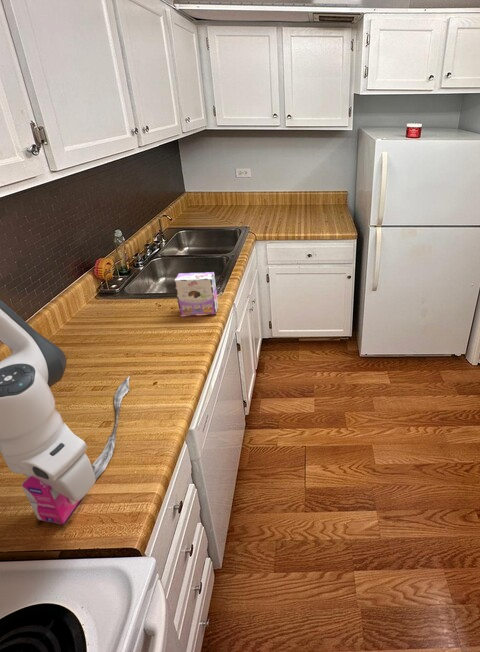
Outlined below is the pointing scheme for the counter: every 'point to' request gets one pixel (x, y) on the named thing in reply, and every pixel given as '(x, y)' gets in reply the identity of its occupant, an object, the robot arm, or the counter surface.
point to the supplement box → (47, 501)
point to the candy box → (196, 293)
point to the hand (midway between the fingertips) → (58, 491)
